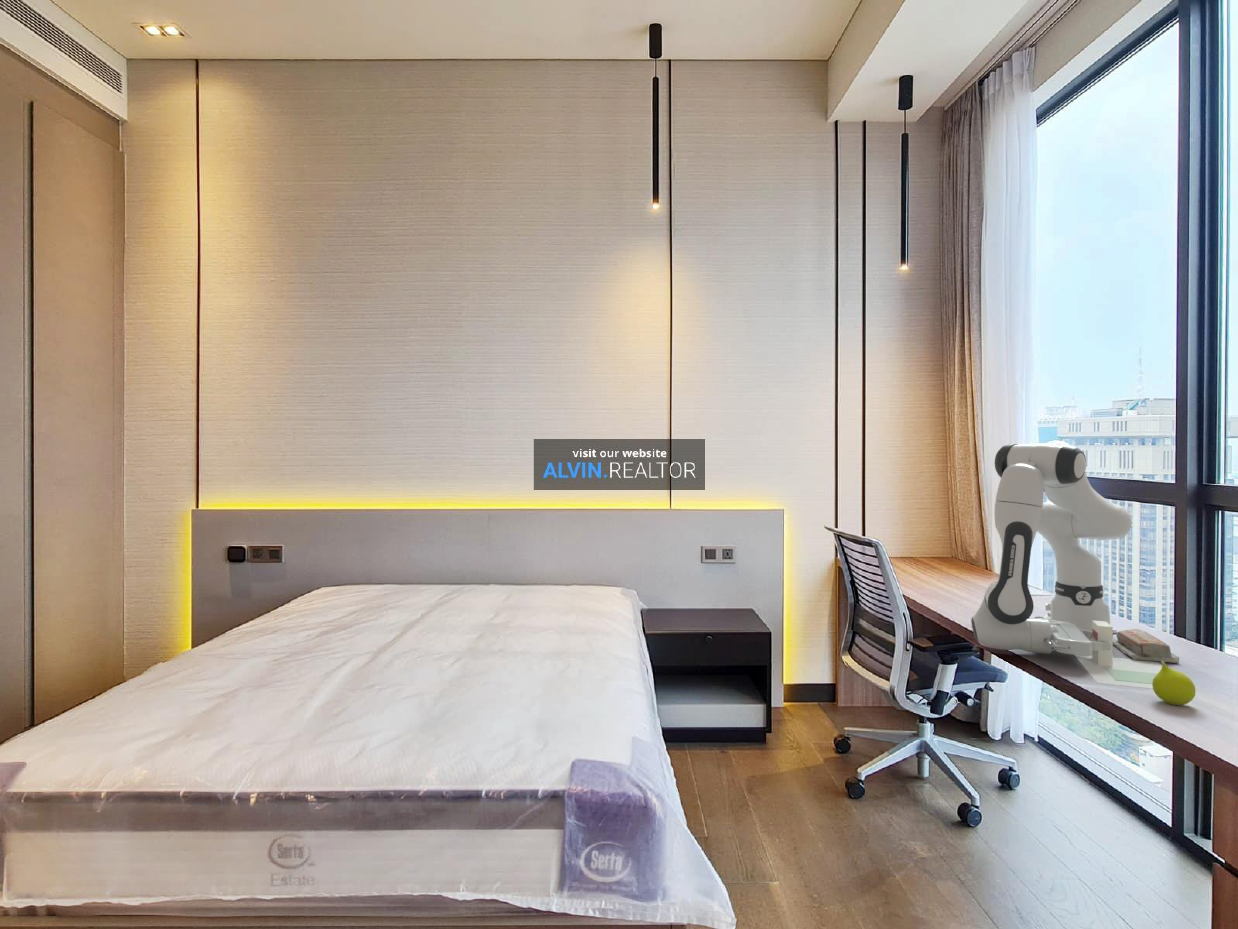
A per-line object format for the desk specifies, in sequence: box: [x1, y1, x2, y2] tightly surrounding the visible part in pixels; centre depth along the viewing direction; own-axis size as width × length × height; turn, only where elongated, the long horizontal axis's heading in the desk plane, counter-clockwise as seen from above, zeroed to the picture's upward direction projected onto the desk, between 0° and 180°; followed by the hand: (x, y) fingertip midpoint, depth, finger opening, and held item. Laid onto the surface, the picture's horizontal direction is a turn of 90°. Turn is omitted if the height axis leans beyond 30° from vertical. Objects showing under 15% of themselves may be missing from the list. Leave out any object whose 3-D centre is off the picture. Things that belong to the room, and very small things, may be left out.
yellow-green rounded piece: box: [1152, 661, 1197, 706], centre depth 142 cm, size 7×7×10 cm
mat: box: [1074, 655, 1162, 690], centre depth 161 cm, size 24×18×1 cm
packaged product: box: [1113, 628, 1180, 664], centre depth 176 cm, size 18×5×10 cm
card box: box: [1091, 620, 1114, 667], centre depth 168 cm, size 6×3×10 cm, turn 156°
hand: (1105, 641), depth 168 cm, fingers open, 8 cm apart
